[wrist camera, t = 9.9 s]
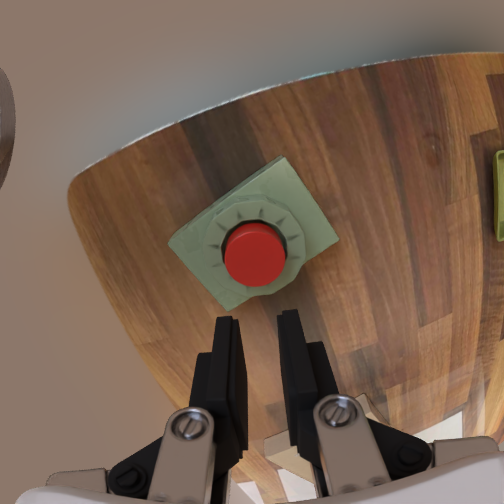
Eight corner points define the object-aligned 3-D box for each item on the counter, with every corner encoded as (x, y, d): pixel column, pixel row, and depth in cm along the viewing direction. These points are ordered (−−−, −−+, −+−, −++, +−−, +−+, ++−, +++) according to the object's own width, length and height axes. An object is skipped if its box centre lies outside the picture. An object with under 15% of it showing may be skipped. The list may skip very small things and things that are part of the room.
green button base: (228, 297, 25) (226, 326, 22) (173, 233, 23) (160, 253, 19) (332, 230, 23) (347, 249, 19) (281, 154, 21) (289, 159, 17)
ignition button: (248, 284, 21) (248, 297, 19) (214, 243, 20) (212, 254, 18) (293, 254, 20) (297, 266, 18) (260, 211, 19) (262, 219, 17)
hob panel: (324, 476, 39) (327, 491, 36) (254, 433, 33) (255, 453, 30) (402, 441, 36) (407, 456, 34) (358, 385, 30) (365, 405, 27)
